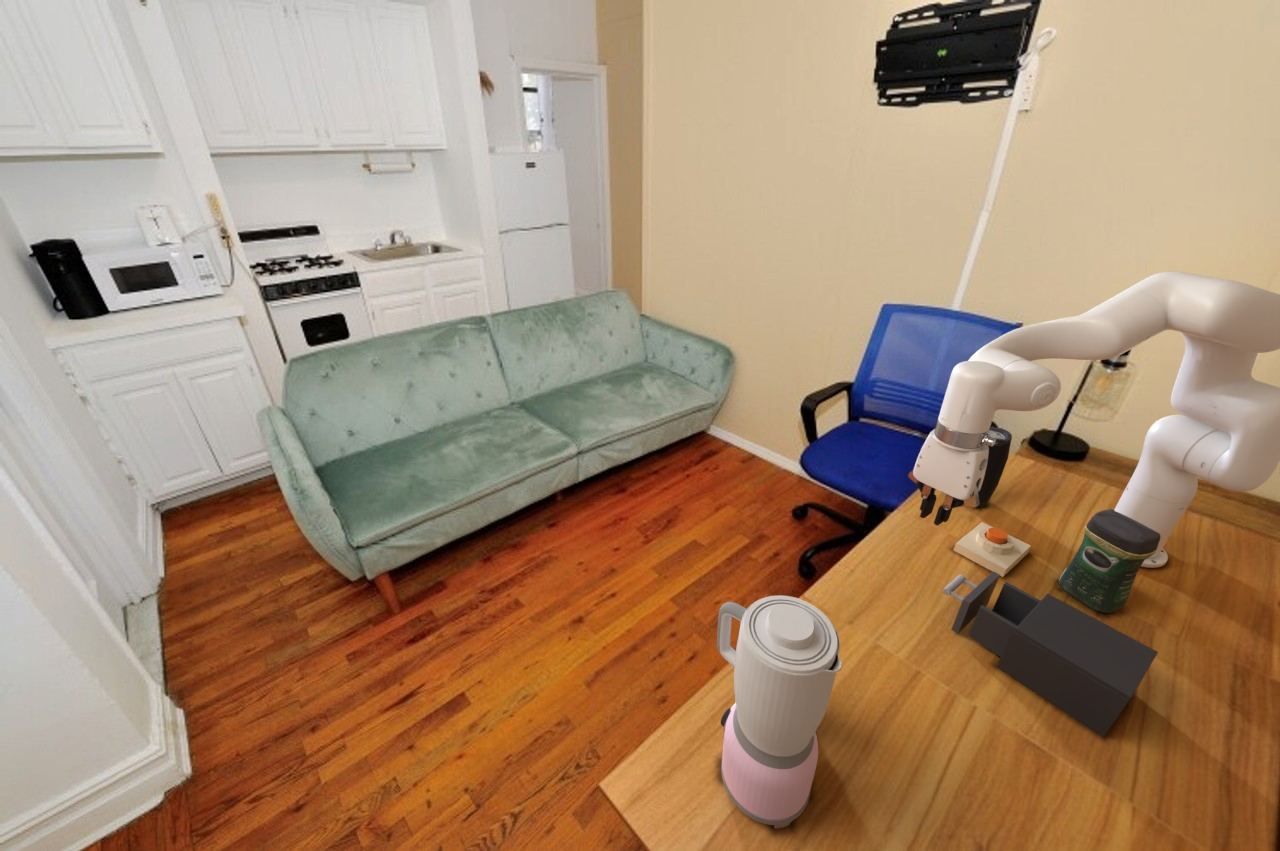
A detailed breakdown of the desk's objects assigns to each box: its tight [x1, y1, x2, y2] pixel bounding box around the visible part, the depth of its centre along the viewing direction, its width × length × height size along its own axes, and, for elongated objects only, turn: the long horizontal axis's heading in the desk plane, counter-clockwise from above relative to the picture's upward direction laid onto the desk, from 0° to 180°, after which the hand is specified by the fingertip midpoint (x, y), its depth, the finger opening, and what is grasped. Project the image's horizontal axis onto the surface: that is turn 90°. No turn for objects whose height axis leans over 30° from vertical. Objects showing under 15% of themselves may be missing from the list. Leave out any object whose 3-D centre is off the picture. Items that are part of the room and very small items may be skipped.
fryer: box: [997, 593, 1159, 738], centre depth 82 cm, size 15×13×10 cm
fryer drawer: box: [942, 571, 1042, 659], centre depth 89 cm, size 18×11×8 cm, turn 35°
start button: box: [986, 527, 1009, 545], centre depth 109 cm, size 4×4×2 cm
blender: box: [716, 594, 843, 829], centre depth 65 cm, size 16×12×32 cm
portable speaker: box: [975, 426, 1013, 509], centre depth 123 cm, size 9×9×20 cm
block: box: [953, 521, 1032, 578], centre depth 110 cm, size 12×10×4 cm
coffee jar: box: [1058, 508, 1161, 614], centre depth 95 cm, size 10×8×19 cm
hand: (932, 518), depth 95 cm, fingers closed
